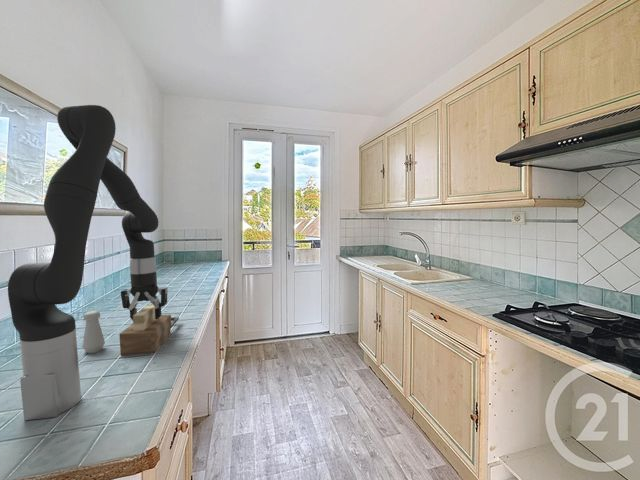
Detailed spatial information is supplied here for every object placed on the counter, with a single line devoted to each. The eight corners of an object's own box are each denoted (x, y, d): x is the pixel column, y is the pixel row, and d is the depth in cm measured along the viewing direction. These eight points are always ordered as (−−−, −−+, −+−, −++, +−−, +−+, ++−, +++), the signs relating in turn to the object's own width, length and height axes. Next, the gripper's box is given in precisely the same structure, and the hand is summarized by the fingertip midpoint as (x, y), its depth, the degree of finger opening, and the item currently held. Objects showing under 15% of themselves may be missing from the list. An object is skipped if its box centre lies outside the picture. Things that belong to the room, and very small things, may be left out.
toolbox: (155, 352, 93) (154, 334, 93) (120, 355, 92) (119, 336, 91) (170, 334, 108) (169, 318, 107) (141, 336, 106) (140, 320, 106)
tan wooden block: (154, 346, 93) (153, 316, 92) (120, 349, 91) (118, 318, 91) (178, 319, 118) (177, 295, 117) (152, 321, 116) (150, 296, 115)
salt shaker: (93, 355, 92) (90, 315, 91) (78, 354, 93) (75, 314, 92) (109, 347, 97) (107, 309, 96) (95, 346, 99) (92, 308, 98)
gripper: (113, 274, 93) (117, 324, 94) (162, 272, 95) (165, 321, 97) (125, 269, 100) (128, 316, 102) (170, 268, 103) (172, 314, 104)
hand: (146, 319), depth 99 cm, fingers open, 6 cm apart
